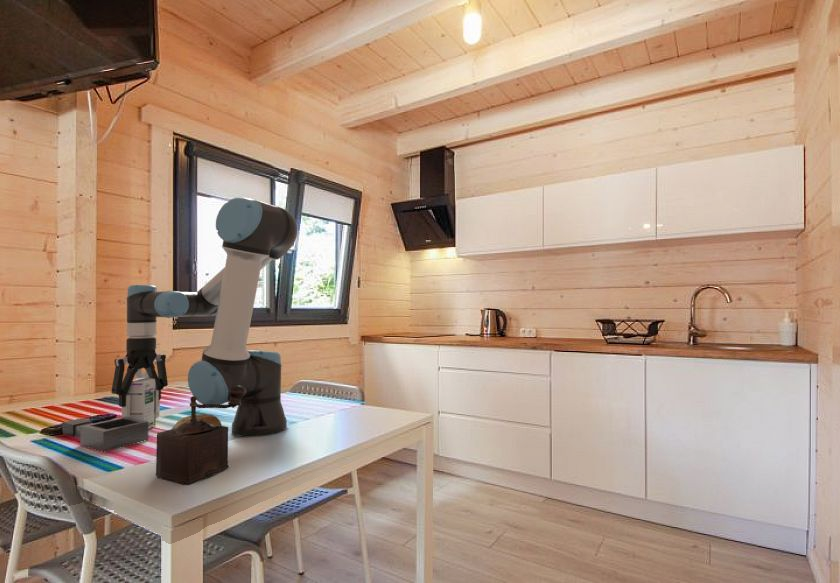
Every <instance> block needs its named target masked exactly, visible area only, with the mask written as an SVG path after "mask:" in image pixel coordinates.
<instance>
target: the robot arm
mask: <svg viewBox="0 0 840 583" xmlns="http://www.w3.org/2000/svg"><path fill="white" fill-rule="evenodd" d="M215 219H216V220H215V230H216V232H217V235H218V237H219V238H220V239H221V240H222V241H223V242H222V246H221V248H222V249H223V250H224V252H225V254H226V259H225V260H226V261H225V266H224V267H223V268H222V269H221V270H220V271H219V272H218V273H216V274H215V275H214V277H212V278H211V279H210V280H209V281H208V282H207V283H206V284H205V285H203V286H202V287H201V288H200V289H199V290H198V291H176V290H166V291H165V290H163V291H158V287H157V286H155V285H152V284H151V285H150V284H131V285H129V286H128V288H127V296H126V336H127V337H128V338H127V339H126V340H125V341H126V348H125V349H126V354H125V356H124V357H122V358H115V359H114V366H115V369H114V373H113V374H114V375H113V380H112V387H111V391H110V393H111V394H112V395H116V396H117V395H118V406H119V407H120V408H121V418H122V417H129V418H130V395H127V393H128V390H129V388H130V386H131V383H132V381H133V380H134V378H135V377H136V375H135V374H136V372H137V371H138V369H145V372H146V371H147V373H148V376H149V378H154V379H155V382H156V412H158V400H160V401H161V398H162V390H164V387H167V386H169V383H168V376H167V368H166V358H167V355H166V354H161V353H160V354H158V353H157V351H156V349H157V338H156V337H155V336H157V320H158V319H157V318H166V319H170V318H174V319H175V318H181V317H182V318H185V317H186V318H187V317H211V316H212V317H213V316H215V320H214V325H213V331H212V337H211V341H210V342H211V343H210V345H208V346H206V347H205V348H204V349H203V350H202V355H201V360H197V361H196V362H194V363H193V365H191V366H190V368H189V370H188V373H187V384H188V388H189V391H190V392H191V395H192V396H195V397H196V398H197V400H196V402H198V403H199V404H200V405H203V404H220V405H225V403H228V402H229V401H230V395H229V393H228V389H229V388H230V387H231V386H233V385H239V386H243V387H244V388H245V389H246V394H245V395H244V396H243V397H242V399H241V400H240V401H241V405H240V406H237V409H236V411H235V415H234V418H233V421H232V423H231V433H232V434H233V435H234V436H238V437H262V436H269V435H274V434H278V433H280V432H283V431H285V430H286V429H287V427H288V424H287V421H288V420H287V417H286V416H285V411H284V407H283V405H282V400H281V398H282V397H281V396H282V394H281V393H282V391H281V390H282V359H281V357H282V356H281V355H280V353H279V352H278V351H269V350H268V351H267V350H266V351H265V350H251V349H250V350H248V349H247V343H248V338H249V334H250V333H249V332H250V326H251V321H252V315H253V311H254V306H255V300H256V296H257V290H258V285H259V279H260V273H261V271H262V270H263V269H264V268H265V267H266V266H268V264H270V263H271V262H272V261H274V260H275V261H276V260H280V259H281V258H282V257H283V256H284V255H285V254H287V253H288V251H290V249H291V248H292V246H294V244H295V242H296V240H297V237H298V223H297V221H296V219H295V217H294V216H293V215H292V213H291V212H289V211H288V210H287V209H285V208H283V207H281V206H278V205H277V206H276V205H273V204H270V203H266V202H263V201H260V200H257V199H253V198H248V197H241V196H239V197H233V198H231V199H229V200H228V201H227V202H225V203H224V204H222V206H221V208H220V209H219V211H218V213H217V215H216V218H215ZM153 361H154V362H155V361H156V367H155V366H154V364H153ZM126 364H128V365H127V368H126V374H125V365H126ZM156 369H157V370H156ZM156 371H157V372H156ZM124 374H125V375H124Z"/></svg>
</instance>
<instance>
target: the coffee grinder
mask: <svg viewBox="0 0 840 583" xmlns="http://www.w3.org/2000/svg"><path fill="white" fill-rule="evenodd" d="M228 393H229V395H230V401H229V402H227V404H201V403H197V398H196V397H195V396H193V395H192V396H191V397H190V398H189V401H190V403H189V407H190V410H191V411H190V412H191V413H190V416H191V419H190V421H188V422H185V423H183V424H182V425H180V426H179V427H178V428H174V429H172V428H171V429H167V430H164V431H160V432H157V434H156V449H155V450H156V451H155V453H156V454H155V455H156V457H155V458H156V459H155V460H156V461H155V462H156V463H155V465H156V466H155V478H158V479H161V480H165V481H169V482H172V483H175V484H176V483H177V484H181V485H185V486H189V485H192V484H195V483H197V482H199V481H200V482H201V481H202V480H205V479H207V478H210V477H212V476H214V475H216V474H218V473H221V472H223V471H225V470H227V469H228V468H229V426H226V425H222V426H220V425H213V424H209V423H208V422H205V421H203V420H197V419H196V414H197V408H199V409H229V408H232V409H234V408H236V407H238V406H240V405H241V401H240V400H241V399H242V397H243V396H244V395H245V394H246V389H245V388H244V387H243V386H239V385H233V386H231V387H230V388H229V389H228Z"/></svg>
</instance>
